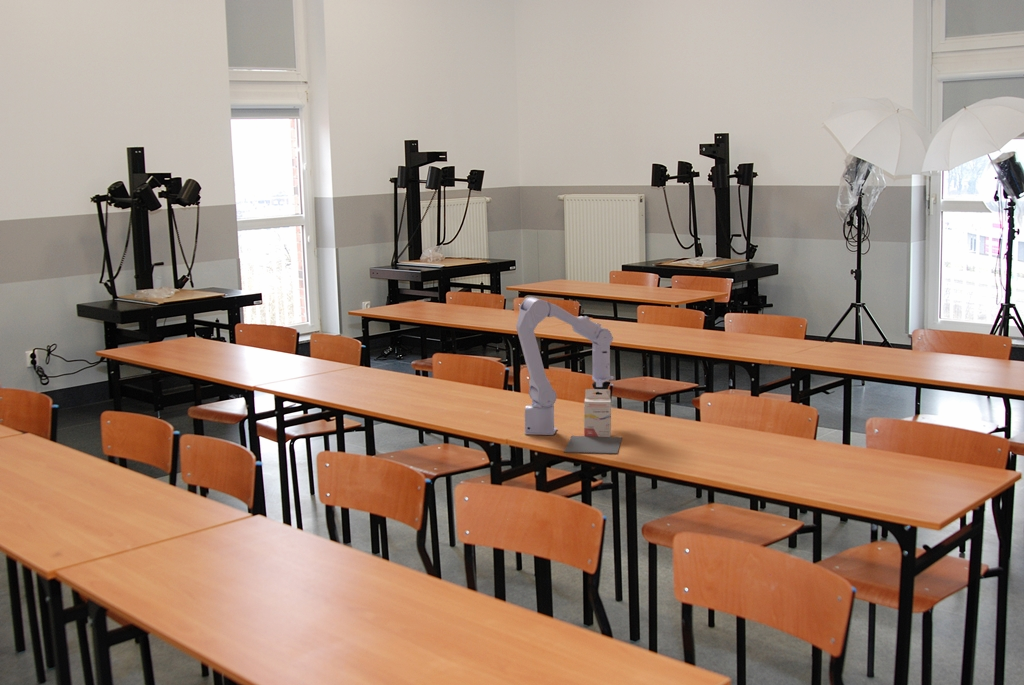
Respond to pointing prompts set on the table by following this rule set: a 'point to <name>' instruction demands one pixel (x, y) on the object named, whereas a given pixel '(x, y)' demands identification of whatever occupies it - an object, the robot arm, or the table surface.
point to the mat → (593, 445)
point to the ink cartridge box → (597, 413)
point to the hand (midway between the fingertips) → (601, 403)
